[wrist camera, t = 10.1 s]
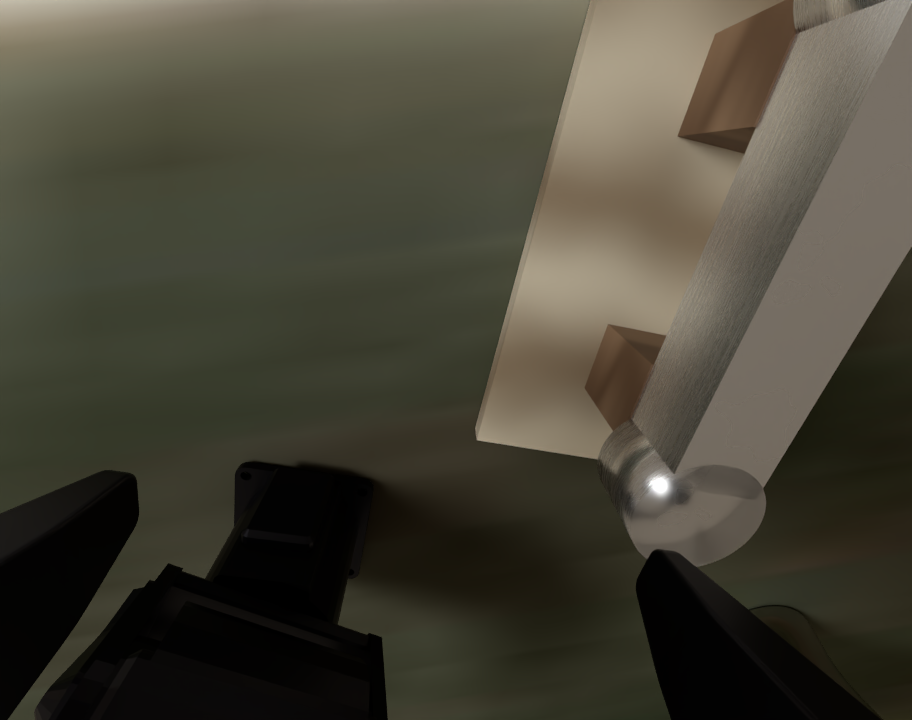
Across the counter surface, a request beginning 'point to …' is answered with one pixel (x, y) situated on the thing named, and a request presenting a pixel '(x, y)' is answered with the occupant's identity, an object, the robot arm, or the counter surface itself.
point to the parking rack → (627, 209)
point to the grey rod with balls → (775, 285)
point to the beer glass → (804, 641)
